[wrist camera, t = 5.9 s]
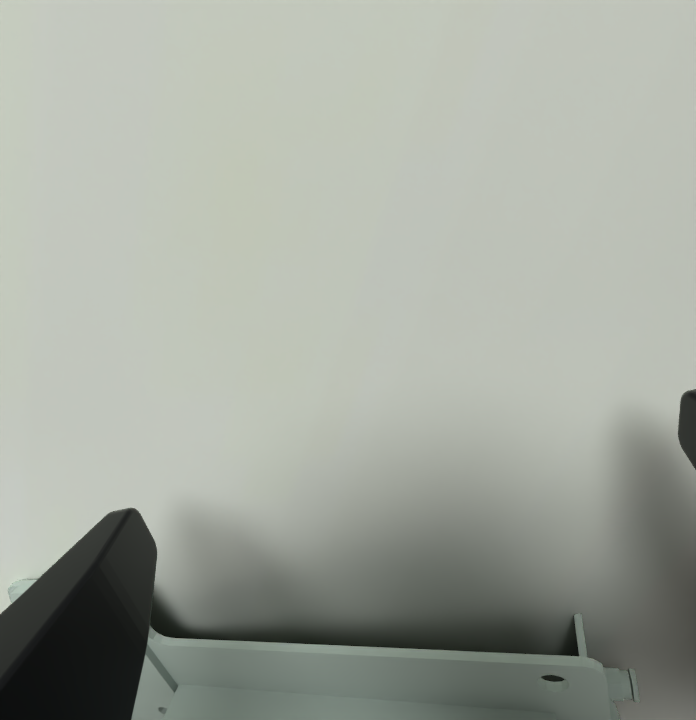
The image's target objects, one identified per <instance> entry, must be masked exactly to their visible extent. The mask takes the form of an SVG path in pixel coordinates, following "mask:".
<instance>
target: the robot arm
mask: <svg viewBox="0 0 696 720" xmlns="http://www.w3.org/2000/svg"><path fill="white" fill-rule="evenodd" d="M678 438H679V442H680V444H681V447H682V449H683V450H684V452H685V454H686V455H687V457H688V458H689V460H690V462H691V463H692V465H693V466H694V468H695V470H696V389H694V390H690V391H687V392H685V393H684V394H683V395H682V397H681V402H680V414H679V426H678ZM156 561H157V548H156V544H155V541H154V539H153V537H152V535H151V533H150V531H149V529H148V528H147V526H146V524H145V522H144V520H143V518H142V516H141V514H140V513H139V511H138V510H136V509H135V508H127V509H122V510H117V511H113V512H110V513H109V514H107V515H106V516H105V517H104V518H103V519H102V520H101V521H100V522H99V523H98V524H97V525H95V526H94V527H93V528H92V529H91V530H90V531H89V532H88V533H87V534H86V535H85V536H84V537H83V538H82V539H80V540H79V541H78V542H77V543H76V544H75V545H74V546H73V547H72V548H71V549H70V550H69V551H68V552H67V553H65V554H64V555H63V556H62V557H61V558H60V559H59V560H58V561H57V562H56V563H55V564H54V565H53V566H52V567H50V568H49V569H48V570H47V571H46V572H45V573H44V574H43V575H42V576H41V577H40V578H39V579H38V580H37V581H36V582H34V583H33V584H32V585H31V586H30V587H29V588H28V589H27V590H26V591H25V592H24V593H23V594H22V595H21V596H19V597H18V598H17V599H16V600H15V601H14V602H13V603H12V604H11V605H10V606H9V607H8V608H7V609H6V610H4V611H3V612H2V613H1V614H0V720H131V719H132V714H133V710H134V705H135V701H136V696H137V691H138V687H139V682H140V677H141V673H142V668H143V663H144V659H145V653H146V648H147V643H148V635H149V628H150V618H151V609H152V599H153V590H154V580H155V571H156Z"/></svg>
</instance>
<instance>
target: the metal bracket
mask: <svg viewBox="0 0 696 720" xmlns="http://www.w3.org/2000/svg"><path fill="white" fill-rule="evenodd" d="M36 581H37V580H19V581H16V582H14V583H13V584H12V585H11V586H10V587H9V588H8V593H9V597H10V600H11V603H13V602H14V601H15V600H16V599H17V598H18V597H19V596H21V595H22V594H23V593H24V592H25V591H26V590H27V589H28V588H29V587H30V586H31V585H32V584H33V583H34V582H36ZM574 619H575V627H576V635H577V643H578V651H579V656H560V655H538V654H516V653H494V652H472V651H450V650H428V649H405V648H383V647H361V646H339V645H317V644H295V643H273V642H251V641H229V640H206V639H184V638H170V637H165V636H163V635H161V634H159V633H157V632H156V631H155V630H154V629H152V628H151V626H150V628H149V635H148V643H147V648H146V653H145V659H144V663H143V668H142V673H141V677H140V682H139V687H138V691H137V696H136V701H135V705H134V710H133V714H132V719H131V720H621V719H620V716H619V713H618V710H617V707H616V705H615V703H614V702H613V701H612V700H614V701H624V700H623V699H628V700H632V696H633V701H634V702H640V699H639V692H638V685H637V680H636V675H635V670H634V669H628V671H629V674H628V671H627V670H619V668H605V667H603V665H602V663H600V662H598V661H596V660H594V659H592V658H587V651H586V644H585V636H584V629H583V622H582V615H581V613H580V614H576V615H574ZM544 675H555V676H560V677H562V678H564V679H565V680H563V681H560V682H551V681H546V680H544V679H542V678H541V677H542V676H544Z"/></svg>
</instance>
